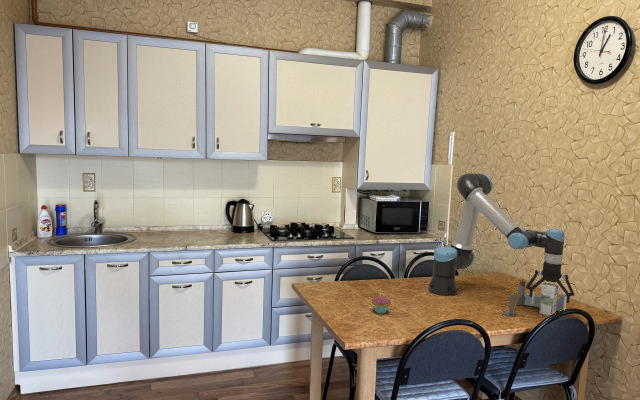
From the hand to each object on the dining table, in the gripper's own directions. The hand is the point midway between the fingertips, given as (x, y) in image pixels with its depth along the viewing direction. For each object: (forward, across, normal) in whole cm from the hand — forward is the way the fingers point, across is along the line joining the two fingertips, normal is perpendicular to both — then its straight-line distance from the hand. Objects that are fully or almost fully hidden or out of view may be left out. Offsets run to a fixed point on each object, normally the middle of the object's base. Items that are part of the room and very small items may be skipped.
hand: (548, 306), depth 202 cm
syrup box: (+4, 0, 0) cm, 4 cm away
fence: (+4, -12, +16) cm, 20 cm away
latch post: (+4, -16, -12) cm, 20 cm away
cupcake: (+4, -68, -43) cm, 81 cm away
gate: (+3, -3, +7) cm, 8 cm away
